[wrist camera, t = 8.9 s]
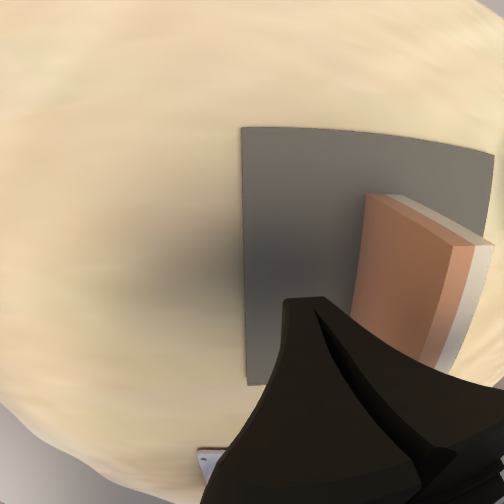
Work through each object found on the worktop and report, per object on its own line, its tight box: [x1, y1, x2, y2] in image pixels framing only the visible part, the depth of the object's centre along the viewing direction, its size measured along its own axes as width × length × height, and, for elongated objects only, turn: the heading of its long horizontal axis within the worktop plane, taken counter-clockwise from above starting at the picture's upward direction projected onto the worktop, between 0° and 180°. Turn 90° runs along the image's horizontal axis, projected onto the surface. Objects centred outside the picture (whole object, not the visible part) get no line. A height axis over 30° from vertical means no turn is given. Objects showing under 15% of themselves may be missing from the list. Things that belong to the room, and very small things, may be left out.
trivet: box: [241, 127, 494, 386], centre depth 14 cm, size 13×13×1 cm
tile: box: [350, 193, 495, 374], centre depth 11 cm, size 7×2×6 cm, turn 1°
